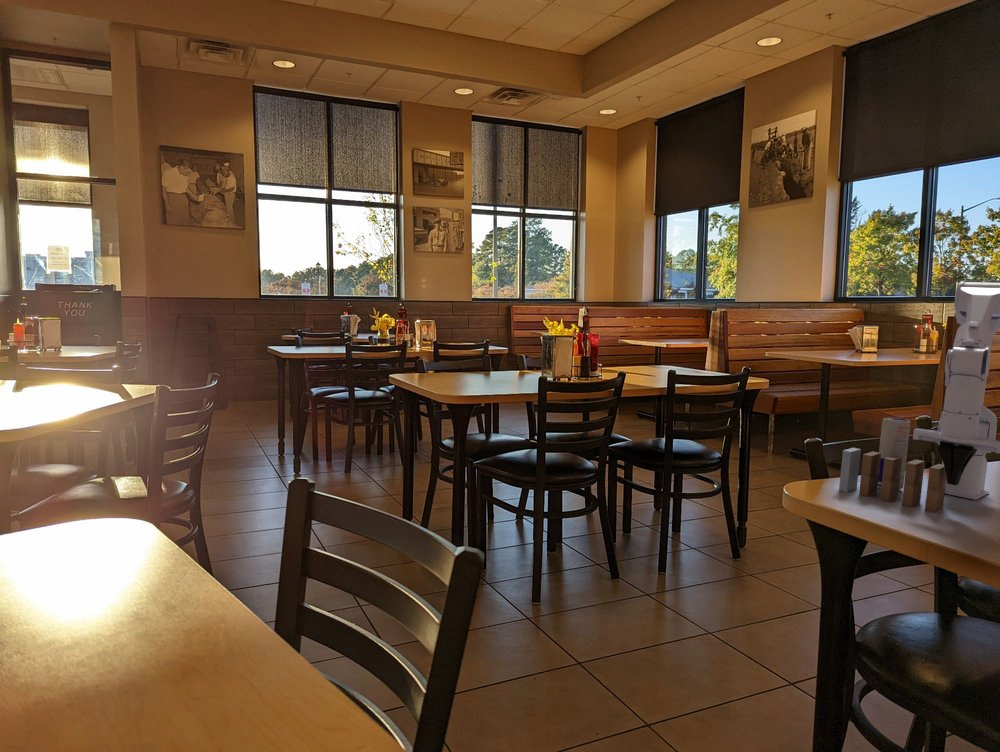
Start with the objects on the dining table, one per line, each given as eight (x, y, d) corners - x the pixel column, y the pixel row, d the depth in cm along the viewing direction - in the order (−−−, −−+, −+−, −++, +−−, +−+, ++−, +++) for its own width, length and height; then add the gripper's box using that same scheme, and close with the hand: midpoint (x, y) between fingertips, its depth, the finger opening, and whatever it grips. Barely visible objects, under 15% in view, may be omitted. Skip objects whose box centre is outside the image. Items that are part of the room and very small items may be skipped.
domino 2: (868, 491, 143) (873, 451, 142) (877, 493, 142) (881, 453, 141) (859, 494, 140) (863, 454, 139) (867, 496, 139) (871, 455, 138)
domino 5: (933, 506, 134) (938, 463, 133) (943, 508, 133) (948, 465, 132) (924, 510, 131) (929, 467, 130) (934, 512, 130) (939, 469, 129)
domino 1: (849, 486, 146) (853, 447, 145) (856, 488, 145) (860, 449, 144) (838, 490, 143) (842, 450, 142) (846, 491, 142) (850, 451, 141)
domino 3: (889, 495, 140) (893, 455, 139) (898, 497, 139) (902, 457, 138) (879, 499, 137) (884, 458, 136) (888, 501, 136) (893, 460, 135)
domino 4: (911, 500, 137) (915, 459, 136) (920, 502, 136) (924, 461, 135) (901, 504, 134) (906, 462, 133) (910, 507, 133) (915, 464, 132)
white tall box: (895, 486, 148) (903, 417, 146) (907, 493, 143) (915, 421, 141) (871, 484, 148) (878, 416, 146) (881, 491, 143) (889, 420, 141)
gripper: (910, 408, 130) (902, 478, 132) (1002, 420, 120) (992, 496, 121) (923, 405, 135) (916, 472, 137) (1013, 417, 124) (1003, 490, 126)
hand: (952, 483), depth 129 cm, fingers closed
